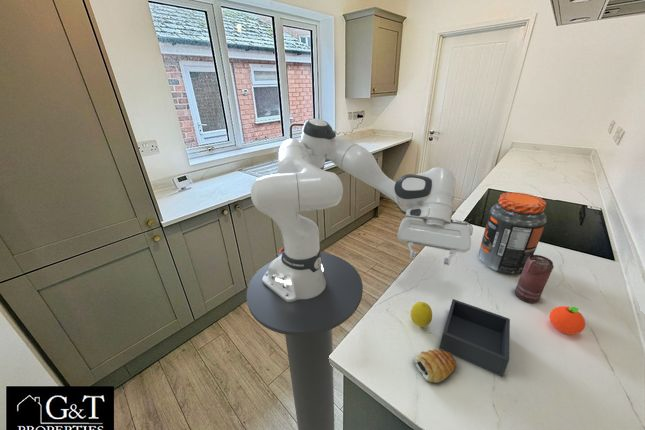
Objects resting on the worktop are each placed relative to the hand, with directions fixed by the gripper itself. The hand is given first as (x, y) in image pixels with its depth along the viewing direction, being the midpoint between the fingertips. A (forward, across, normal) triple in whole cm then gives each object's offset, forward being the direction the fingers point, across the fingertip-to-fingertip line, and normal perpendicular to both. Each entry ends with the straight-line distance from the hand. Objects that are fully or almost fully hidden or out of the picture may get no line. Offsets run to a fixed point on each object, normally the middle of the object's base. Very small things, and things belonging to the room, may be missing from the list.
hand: (428, 261), depth 77 cm
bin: (+18, -13, -1) cm, 23 cm away
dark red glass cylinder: (+2, -30, -18) cm, 35 cm away
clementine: (+9, -36, -11) cm, 39 cm away
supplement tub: (-10, -26, -30) cm, 41 cm away
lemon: (+18, 0, -2) cm, 18 cm away
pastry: (+26, -4, +7) cm, 28 cm away
